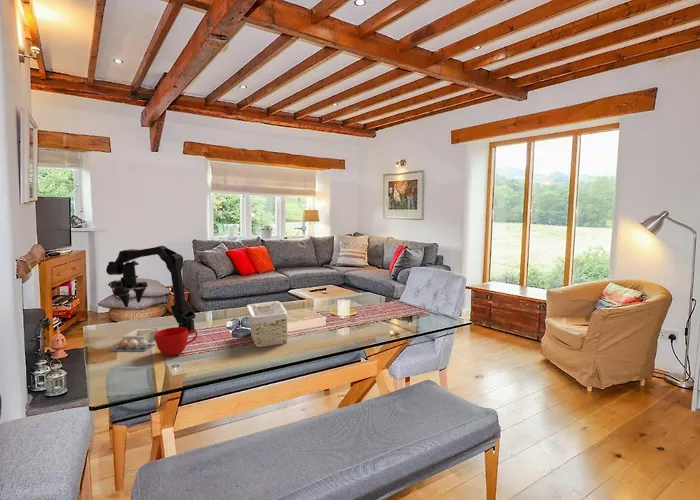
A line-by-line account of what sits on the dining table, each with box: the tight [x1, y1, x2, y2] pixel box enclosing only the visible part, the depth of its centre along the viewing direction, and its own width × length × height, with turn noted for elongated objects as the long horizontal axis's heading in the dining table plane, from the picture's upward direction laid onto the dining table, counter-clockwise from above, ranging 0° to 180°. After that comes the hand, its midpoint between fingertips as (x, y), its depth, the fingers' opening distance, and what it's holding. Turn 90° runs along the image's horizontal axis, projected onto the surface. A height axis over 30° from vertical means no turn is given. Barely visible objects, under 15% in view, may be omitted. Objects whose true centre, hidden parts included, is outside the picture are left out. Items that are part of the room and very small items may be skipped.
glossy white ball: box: [138, 339, 149, 349], centre depth 185 cm, size 4×4×4 cm
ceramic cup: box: [154, 326, 198, 357], centre depth 178 cm, size 13×17×10 cm
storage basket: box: [246, 300, 289, 348], centre depth 191 cm, size 24×16×15 cm
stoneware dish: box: [121, 328, 159, 343], centre depth 197 cm, size 11×11×4 cm
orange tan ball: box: [118, 339, 128, 348], centre depth 186 cm, size 4×4×4 cm
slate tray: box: [111, 343, 156, 353], centre depth 186 cm, size 16×8×1 cm, turn 82°
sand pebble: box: [128, 339, 138, 348], centre depth 185 cm, size 4×4×4 cm
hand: (132, 304), depth 209 cm, fingers open, 9 cm apart
